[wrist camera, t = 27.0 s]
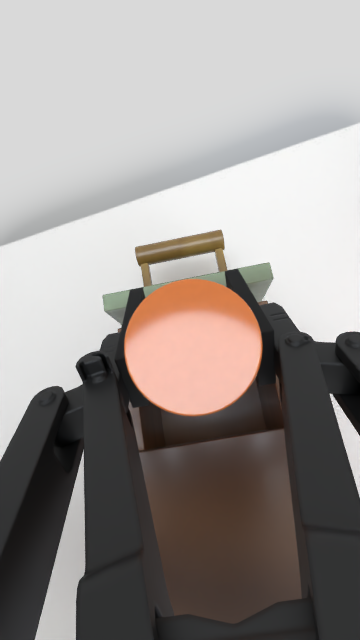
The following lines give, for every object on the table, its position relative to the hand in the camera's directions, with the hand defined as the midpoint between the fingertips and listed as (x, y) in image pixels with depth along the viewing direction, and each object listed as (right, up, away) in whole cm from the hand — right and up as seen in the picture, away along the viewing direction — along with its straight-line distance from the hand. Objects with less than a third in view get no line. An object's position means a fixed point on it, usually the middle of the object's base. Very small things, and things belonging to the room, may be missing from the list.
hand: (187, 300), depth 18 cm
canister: (+1, -4, +2) cm, 5 cm away
